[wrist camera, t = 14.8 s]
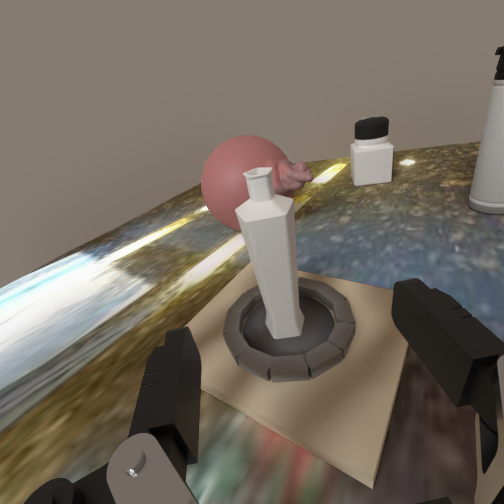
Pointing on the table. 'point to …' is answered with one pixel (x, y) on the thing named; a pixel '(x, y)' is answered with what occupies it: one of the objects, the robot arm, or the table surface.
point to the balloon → (234, 182)
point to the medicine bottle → (371, 152)
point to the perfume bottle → (272, 251)
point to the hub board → (308, 366)
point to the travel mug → (491, 152)
